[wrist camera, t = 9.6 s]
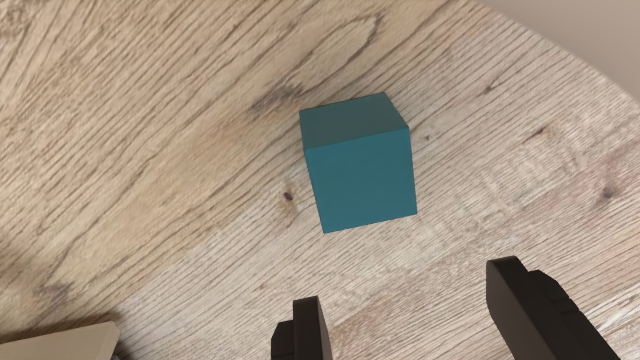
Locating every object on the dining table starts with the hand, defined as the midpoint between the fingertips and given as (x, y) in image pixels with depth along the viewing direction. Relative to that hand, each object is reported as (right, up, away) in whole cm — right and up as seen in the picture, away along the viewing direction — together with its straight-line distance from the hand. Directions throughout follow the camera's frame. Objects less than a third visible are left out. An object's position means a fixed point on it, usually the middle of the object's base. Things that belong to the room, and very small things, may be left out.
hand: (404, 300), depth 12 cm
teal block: (-1, +6, +10) cm, 11 cm away
